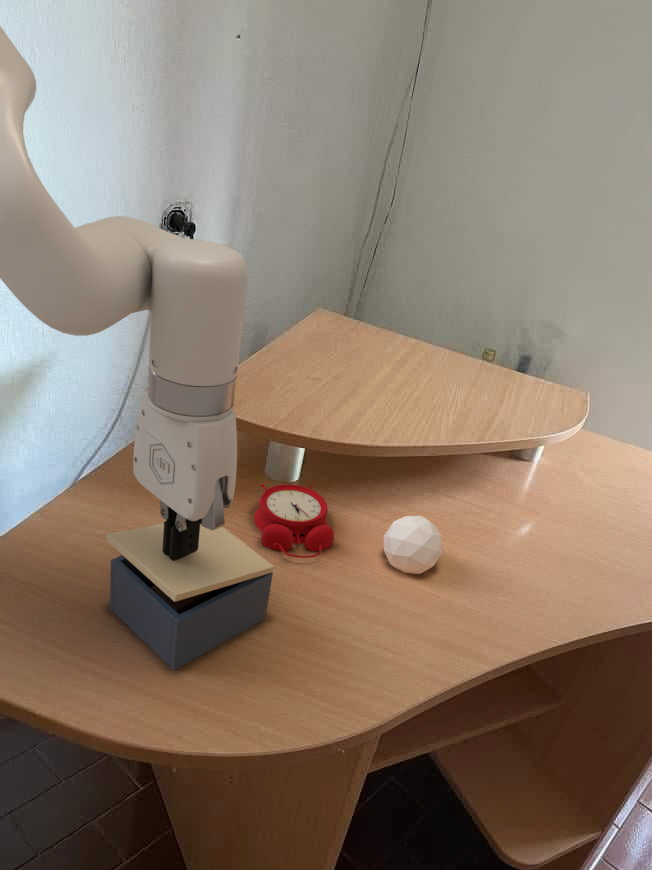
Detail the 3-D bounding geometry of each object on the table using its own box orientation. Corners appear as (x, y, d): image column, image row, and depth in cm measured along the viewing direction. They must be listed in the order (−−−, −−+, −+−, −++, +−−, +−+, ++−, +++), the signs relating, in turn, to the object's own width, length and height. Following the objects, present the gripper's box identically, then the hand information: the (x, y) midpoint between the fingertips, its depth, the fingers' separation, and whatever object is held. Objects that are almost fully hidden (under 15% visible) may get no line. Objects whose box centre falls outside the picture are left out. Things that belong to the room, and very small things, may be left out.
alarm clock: (321, 481, 101) (349, 521, 88) (316, 520, 103) (342, 566, 89) (250, 478, 98) (266, 519, 84) (246, 519, 100) (262, 566, 86)
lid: (174, 602, 64) (176, 595, 64) (105, 540, 70) (106, 533, 70) (272, 572, 75) (274, 566, 75) (205, 520, 81) (207, 514, 80)
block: (148, 618, 76) (150, 587, 73) (182, 601, 79) (184, 571, 76) (173, 641, 73) (175, 610, 71) (206, 623, 77) (210, 593, 74)
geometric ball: (397, 572, 97) (413, 517, 98) (444, 586, 91) (460, 528, 92) (363, 561, 91) (381, 503, 92) (411, 575, 86) (429, 513, 87)
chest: (173, 677, 70) (178, 621, 66) (109, 614, 76) (110, 559, 72) (264, 625, 79) (273, 572, 75) (201, 572, 85) (206, 520, 81)
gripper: (106, 363, 62) (105, 528, 72) (212, 434, 55) (196, 608, 64) (175, 350, 68) (166, 505, 77) (281, 413, 60) (257, 577, 70)
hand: (180, 552), depth 71 cm, fingers closed
